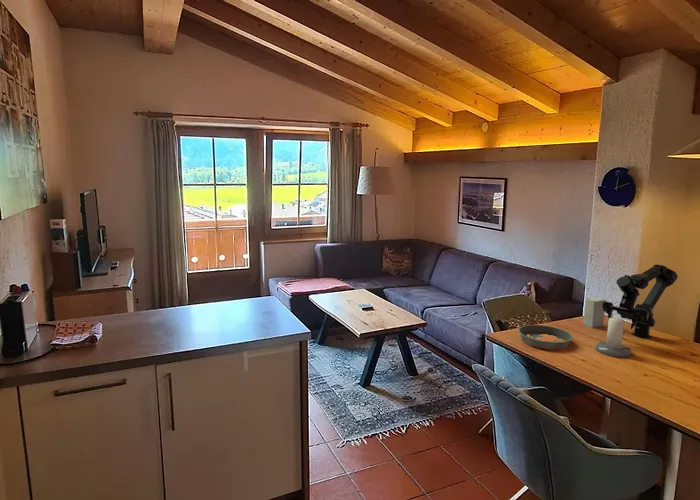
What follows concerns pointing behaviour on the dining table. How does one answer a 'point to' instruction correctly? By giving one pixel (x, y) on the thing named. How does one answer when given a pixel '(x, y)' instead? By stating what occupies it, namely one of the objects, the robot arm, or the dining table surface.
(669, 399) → the dining table surface
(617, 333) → the white post
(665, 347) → the dining table surface
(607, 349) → the slate plinth
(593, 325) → the skincare box
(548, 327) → the cake pan
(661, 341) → the dining table surface
